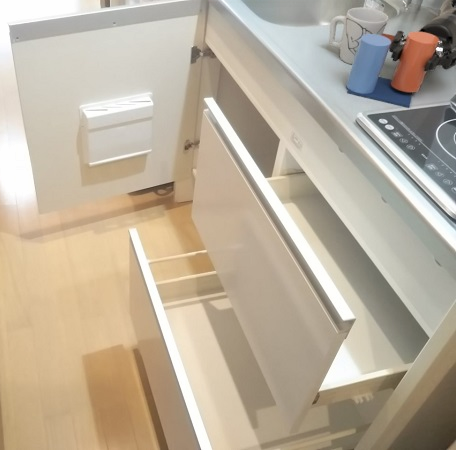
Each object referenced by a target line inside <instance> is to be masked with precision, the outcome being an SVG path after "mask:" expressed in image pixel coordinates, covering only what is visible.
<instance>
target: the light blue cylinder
mask: <svg viewBox="0 0 456 450" xmlns="http://www.w3.org/2000/svg"><path fill="white" fill-rule="evenodd" d="M390 45H391V40H390V39H388V38H387V37H384V36H382V35H377V34H365V35H362V36H361V39H360V42H359V45H358V48H357V52H356V55H355V58H354V61H353V64H351V68H350V71H349V73H348V77H347V80H346V83H345V86H346V88H347V90H348V89H349V90H351V91H353V92H356V93H360V94H369V93H372V92H373V91H374V90H375V87H376V84H377V81H378V79H379V77H381V76H380V75H381V73H382V70H383V68H384V65H385V61H386V58H387V55H388V53H389V48H390Z"/></svg>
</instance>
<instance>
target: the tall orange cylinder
mask: <svg viewBox="0 0 456 450" xmlns="http://www.w3.org/2000/svg"><path fill="white" fill-rule="evenodd" d="M406 36H407V39H406V42H405V45H404V47H403V50H402V53H401V55H400V58H399V60H398V61H397V64H396V67H395V69H394V71H393V74H392V77H391V85H392V86H393V87H394V88H395V89H397V90H400V91H404V92H413V93H416V92H418V91H420V88H421V86H422V84H423V82H424V79H425V77H426V74H427V72H426V71H424V69H425V66H426V64H427V62H428V60H429V59H430V58H431V57H432V56H433V55H434V52H435V50H436V47H437V45H438V42H439V38H438V37H436V36H434V35H432V34H429V33H425V32H418V31H411V32H409V33H408V34H407V35H406Z"/></svg>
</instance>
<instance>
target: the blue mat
mask: <svg viewBox="0 0 456 450" xmlns="http://www.w3.org/2000/svg"><path fill="white" fill-rule="evenodd" d="M391 80H392V78H391V79H390V78H386V77H382V76H379V79H378V81H377V84H376V87H375V90H374V91H373V92H372V93H369V94H360V93H356V92H353V91H351V90H349V89H348V88H347V92H346V93H347V94H349V95H354V96H359V97H362V98H367V99H369V100H374V101H380V102H384V103H387V104H392V105H395V106H400V107H404V108H408V109H409V108H410V107H411V102H412V98H413V94H414V92H404V91H400V90H397V89H395V88H394V87H393V86H392V85H391Z"/></svg>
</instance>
